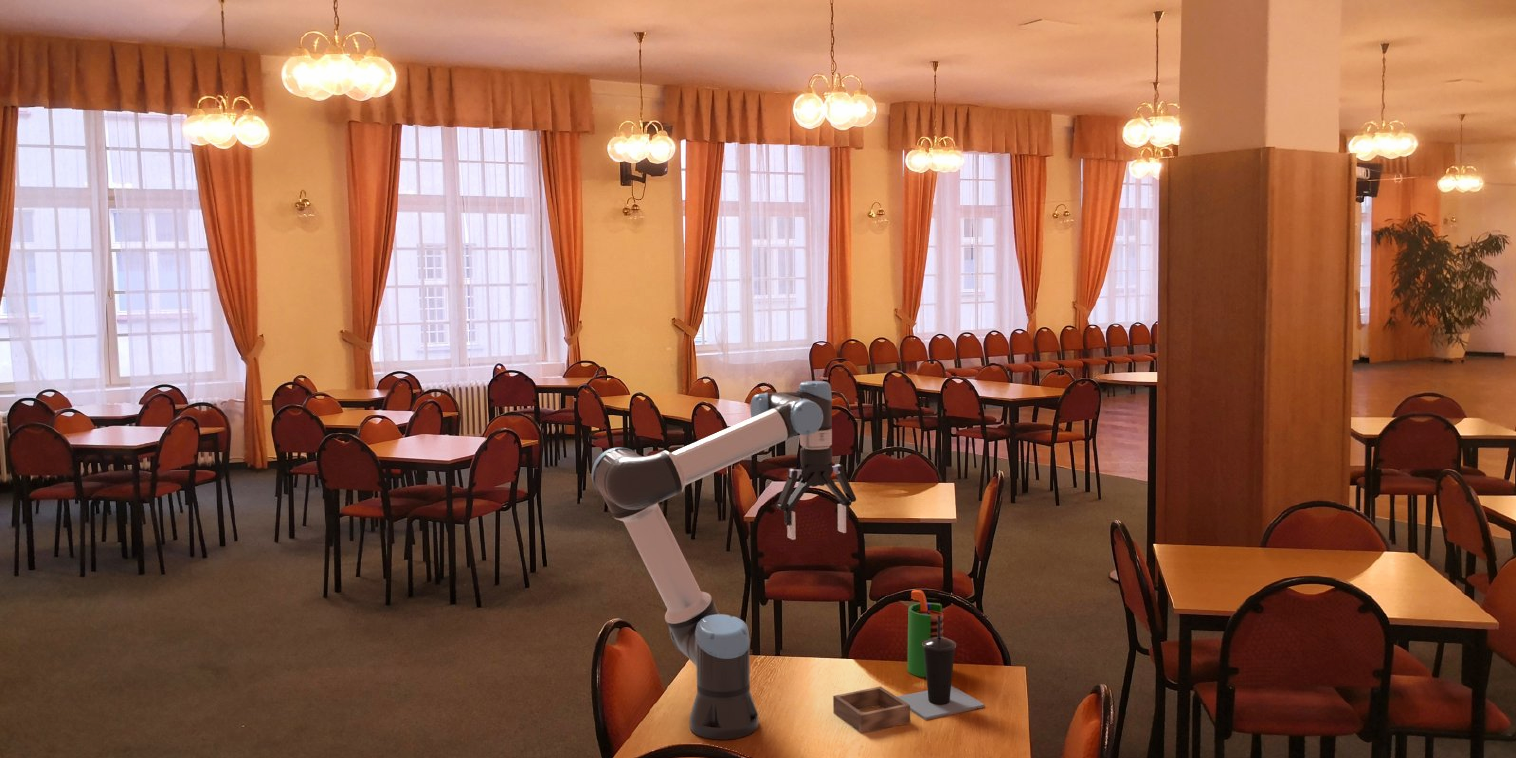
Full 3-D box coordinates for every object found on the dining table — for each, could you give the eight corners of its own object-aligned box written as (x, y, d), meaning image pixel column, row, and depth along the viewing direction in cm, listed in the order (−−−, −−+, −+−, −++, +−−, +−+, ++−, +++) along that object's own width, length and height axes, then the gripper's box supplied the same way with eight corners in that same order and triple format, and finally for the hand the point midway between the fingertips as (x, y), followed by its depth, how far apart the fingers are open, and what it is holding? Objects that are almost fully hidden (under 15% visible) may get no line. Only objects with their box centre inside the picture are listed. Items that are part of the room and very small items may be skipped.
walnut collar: (861, 733, 241) (861, 715, 240) (833, 713, 252) (833, 695, 252) (910, 722, 246) (910, 705, 246) (880, 703, 257) (880, 686, 257)
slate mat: (925, 720, 247) (925, 717, 247) (894, 699, 259) (894, 697, 259) (984, 706, 254) (984, 704, 254) (951, 687, 266) (951, 685, 266)
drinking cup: (919, 705, 254) (919, 620, 252) (925, 693, 261) (924, 609, 259) (953, 709, 252) (953, 622, 250) (957, 696, 259) (958, 612, 257)
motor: (943, 678, 272) (943, 598, 270) (906, 676, 273) (905, 597, 271) (944, 664, 282) (944, 586, 280) (908, 662, 283) (908, 585, 281)
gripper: (775, 453, 255) (776, 544, 257) (869, 444, 265) (870, 532, 267) (761, 448, 262) (762, 537, 264) (854, 440, 272) (854, 525, 274)
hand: (817, 535), depth 266 cm, fingers open, 13 cm apart
